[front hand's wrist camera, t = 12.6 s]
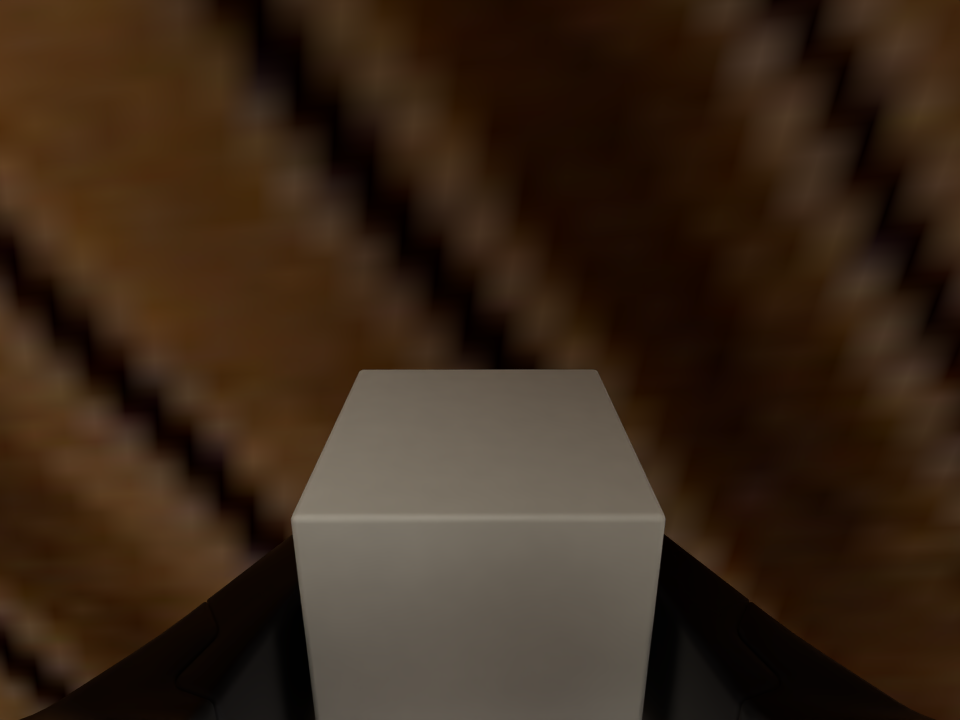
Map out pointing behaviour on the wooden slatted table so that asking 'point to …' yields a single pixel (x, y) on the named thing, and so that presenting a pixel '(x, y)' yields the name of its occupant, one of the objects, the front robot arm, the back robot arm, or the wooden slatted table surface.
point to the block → (478, 551)
